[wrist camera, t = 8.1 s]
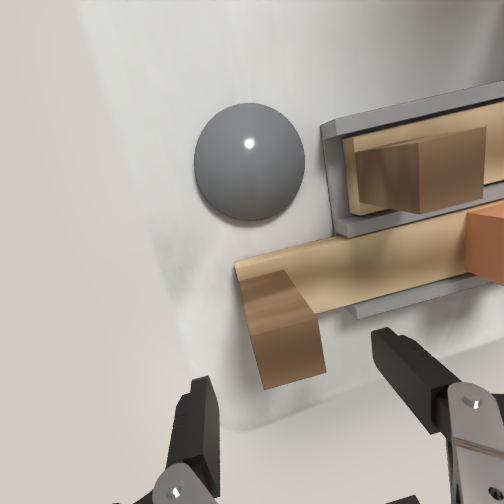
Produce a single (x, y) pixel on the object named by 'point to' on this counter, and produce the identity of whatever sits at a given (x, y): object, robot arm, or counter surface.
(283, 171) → the slate coaster
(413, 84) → the counter surface
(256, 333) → the oak strip
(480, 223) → the rust cube
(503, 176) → the oak strip
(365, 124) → the lane frame
